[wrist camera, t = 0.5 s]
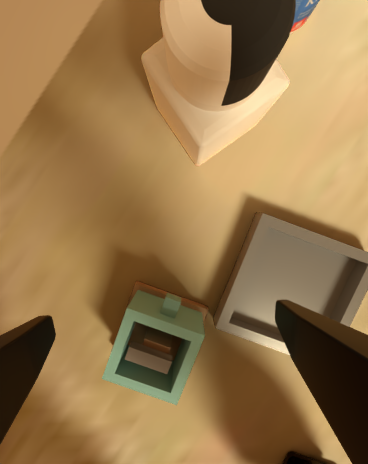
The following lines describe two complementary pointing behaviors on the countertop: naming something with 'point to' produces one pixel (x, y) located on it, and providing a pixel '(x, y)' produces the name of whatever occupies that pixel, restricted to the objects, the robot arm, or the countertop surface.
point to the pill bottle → (302, 13)
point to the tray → (289, 280)
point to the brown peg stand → (155, 336)
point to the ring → (167, 320)
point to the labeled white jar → (217, 68)
